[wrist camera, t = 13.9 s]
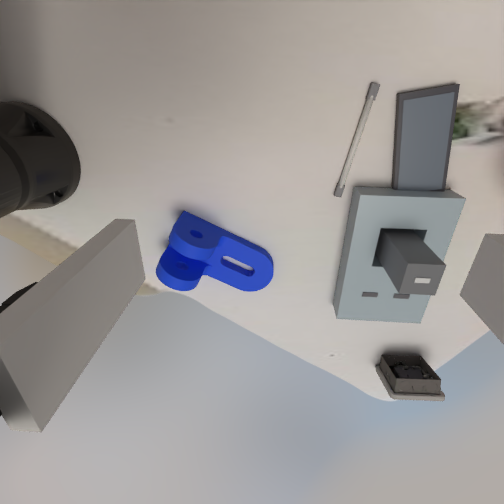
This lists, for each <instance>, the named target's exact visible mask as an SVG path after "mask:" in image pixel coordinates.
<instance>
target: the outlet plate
mask: <svg viewBox="0 0 504 504" xmlns="http://www.w3.org/2000/svg"><path fill="white" fill-rule="evenodd" d="M465 200H466V198H464V197H462V196H461V195H459V194H457V193H455V192H454V191H452V190H445V192H440V191H404V190H393V189H392V188H378V187H354V189H353V195H352V200H351V206H350V211H349V217H348V223H347V228H346V234H345V239H344V245H343V251H342V256H341V262H340V267H339V273H338V279H337V284H336V290H335V295H334V301H333V306H334V310H335V314H336V318H337V319H349V320H367V321H385V322H403V323H421V320H422V318H423V315H424V312H425V309H426V307H427V304H428V301H429V298H430V296H431V295H418V294H399V293H398V291H397V290H396V288H395V286H394V285H393V283H392V281H391V279H390V278H389V276H388V274H387V273H386V271H385V269H384V268H383V266H382V264H381V263H380V261H379V259H378V258H377V256H376V254H375V250H376V246H377V242H378V238H379V234H380V229H381V228H396V229H412V230H413V231H414V232H415V233H416V234H417V235H418V236H419V237H420V238H421V239H422V240H423V241H424V243H425V244H426V245H427V246H428V247H429V248H430V249H431V250H432V251H433V252H434V253H435V254H436V255H437V256H438V257H439V258H440V259H441V260H442V261H443V260H444V258H445V255H446V252H447V249H448V247H449V244H450V241H451V239H452V236H453V233H454V230H455V228H456V225H457V222H458V219H459V217H460V214H461V211H462V209H463V206H464V203H465Z"/></svg>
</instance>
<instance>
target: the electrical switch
mask: <svg viewBox="0 0 504 504" xmlns="http://www.w3.org/2000/svg"><path fill="white" fill-rule="evenodd" d="M420 357H421V356H393V355H382V357H381V362H380V365H377V366H376V372H377V374H378V375H379V377H380V379H381V381H382V383H383V385H384V386H385V388H386V390H387V392H388V394H389V396H390V397H391V398H393V399H398V400H425V401H444V399H445V395H444V393H443V392H442V391H440V390H441V387H440V385H441V379H440V378H439V377H438V376H437V374H436V373H435V372H434V371H433V370H432V368H431V367H430V366H429V365H428V364H427V363H426V361H425V360H424V359H423V358H422V357H421V360H420ZM405 360H406V361H405ZM400 361H402V363H403V366H401V365H398V363H399V362H400ZM395 363H396V364H395Z"/></svg>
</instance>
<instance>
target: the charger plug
mask: <svg viewBox="0 0 504 504" xmlns="http://www.w3.org/2000/svg"><path fill="white" fill-rule="evenodd" d="M375 254H376V256H377V258H378V259H379V261H380V263H381V264H382V266H383V268H384V269H385V271H386V273H387V274H388V276H389V278H390V279H391V281H392V283H393V285H394V286H395V288H396V290H397V291H398V293H399V294H418V295H435V294H436V291H437V289H438V286H439V283H440V281H441V278H442V275H443V273H444V270H445V267H446V264H445V263H444V262H443V261H442V260H441V259H440V258H439V257H438V256H437V255H436V254H435V253H434V252H433V251H432V250H431V249H430V248H429V247H428V246H427V245H426V244H425V243H424V241H423V240H422V239H421V238H420V237H419V236H418V235H417V234H416V233H415V232H414V231H413V230H412V229H396V228H381V229H380V234H379V238H378V242H377V246H376V250H375Z"/></svg>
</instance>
